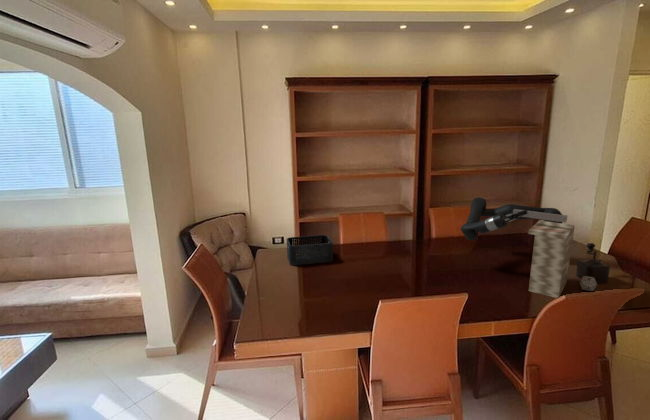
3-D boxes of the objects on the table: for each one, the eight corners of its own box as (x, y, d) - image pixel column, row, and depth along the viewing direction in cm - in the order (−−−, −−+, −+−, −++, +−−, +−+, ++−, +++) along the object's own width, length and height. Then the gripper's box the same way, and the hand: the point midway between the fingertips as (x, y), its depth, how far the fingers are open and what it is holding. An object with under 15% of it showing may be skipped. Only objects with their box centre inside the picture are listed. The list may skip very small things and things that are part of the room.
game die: (581, 296, 180) (570, 277, 183) (597, 290, 179) (586, 272, 183) (589, 295, 172) (578, 276, 175) (606, 289, 171) (595, 270, 174)
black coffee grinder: (609, 283, 186) (614, 251, 182) (588, 283, 186) (593, 251, 182) (587, 271, 201) (592, 241, 197) (568, 272, 201) (572, 242, 197)
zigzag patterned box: (522, 289, 181) (528, 229, 174) (533, 274, 198) (539, 220, 191) (558, 298, 171) (566, 235, 163) (566, 282, 188) (574, 224, 181)
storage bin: (327, 252, 244) (326, 233, 241) (334, 261, 226) (333, 242, 223) (286, 256, 238) (285, 237, 235) (290, 266, 220) (289, 246, 217)
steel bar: (512, 215, 188) (513, 209, 187) (514, 214, 190) (514, 209, 189) (565, 222, 172) (566, 216, 171) (566, 221, 174) (567, 215, 173)
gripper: (488, 218, 191) (520, 207, 179) (497, 214, 201) (527, 202, 189) (494, 231, 190) (527, 220, 178) (503, 225, 200) (534, 215, 188)
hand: (527, 211), depth 184 cm, fingers closed on steel bar, 3 cm apart
